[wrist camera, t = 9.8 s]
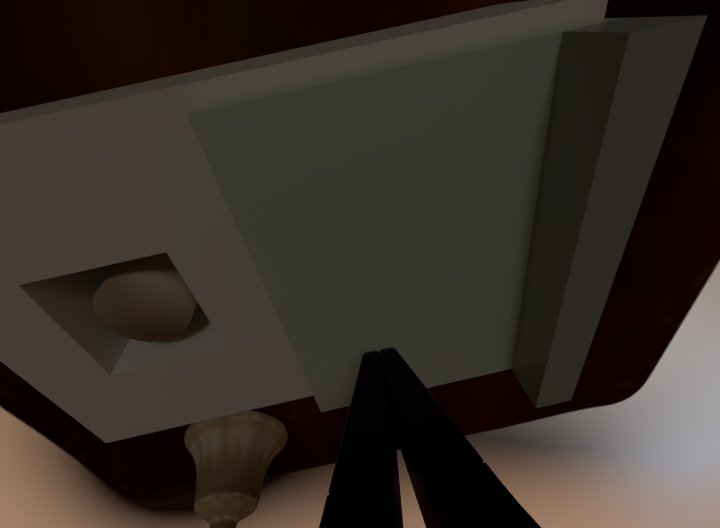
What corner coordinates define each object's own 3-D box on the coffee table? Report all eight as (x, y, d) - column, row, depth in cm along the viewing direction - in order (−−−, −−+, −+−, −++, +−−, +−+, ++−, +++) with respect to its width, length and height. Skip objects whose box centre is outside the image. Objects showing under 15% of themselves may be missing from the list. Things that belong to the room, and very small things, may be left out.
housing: (499, 3, 14) (610, -9, 9) (484, 273, 22) (536, 344, 17) (-40, 122, 13) (-237, 176, 8) (150, 349, 22) (106, 442, 17)
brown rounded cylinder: (201, 203, 17) (164, 267, 12) (229, 258, 19) (205, 331, 14) (133, 218, 16) (71, 288, 12) (168, 271, 19) (125, 349, 14)
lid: (589, 18, 9) (707, 15, 6) (529, 341, 16) (571, 400, 14) (199, 104, 9) (155, 137, 6) (320, 389, 16) (323, 457, 14)
